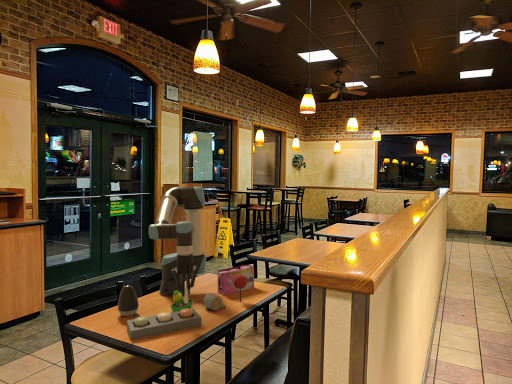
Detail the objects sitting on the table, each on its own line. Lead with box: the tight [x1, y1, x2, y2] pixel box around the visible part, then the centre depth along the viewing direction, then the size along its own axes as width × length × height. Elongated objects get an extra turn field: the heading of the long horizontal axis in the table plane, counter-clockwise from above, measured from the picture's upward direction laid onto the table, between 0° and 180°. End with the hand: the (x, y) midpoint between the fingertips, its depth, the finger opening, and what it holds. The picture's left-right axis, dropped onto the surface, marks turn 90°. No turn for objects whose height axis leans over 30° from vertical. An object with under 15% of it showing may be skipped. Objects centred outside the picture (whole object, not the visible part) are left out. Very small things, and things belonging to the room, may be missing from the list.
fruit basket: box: [170, 291, 194, 313], centre depth 191 cm, size 11×9×11 cm
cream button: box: [157, 311, 172, 322], centre depth 172 cm, size 6×6×2 cm
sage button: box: [134, 316, 149, 327], centre depth 167 cm, size 6×6×2 cm
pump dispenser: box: [117, 284, 139, 317], centre depth 189 cm, size 10×10×15 cm
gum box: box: [217, 264, 255, 296], centre depth 226 cm, size 24×8×14 cm, turn 128°
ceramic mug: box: [203, 292, 226, 311], centre depth 196 cm, size 11×8×8 cm
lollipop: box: [233, 275, 247, 302], centre depth 206 cm, size 8×8×15 cm
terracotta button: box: [180, 308, 193, 318], centre depth 177 cm, size 6×6×2 cm
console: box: [126, 308, 202, 341], centre depth 172 cm, size 13×32×4 cm, turn 117°
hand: (185, 302), depth 176 cm, fingers closed
